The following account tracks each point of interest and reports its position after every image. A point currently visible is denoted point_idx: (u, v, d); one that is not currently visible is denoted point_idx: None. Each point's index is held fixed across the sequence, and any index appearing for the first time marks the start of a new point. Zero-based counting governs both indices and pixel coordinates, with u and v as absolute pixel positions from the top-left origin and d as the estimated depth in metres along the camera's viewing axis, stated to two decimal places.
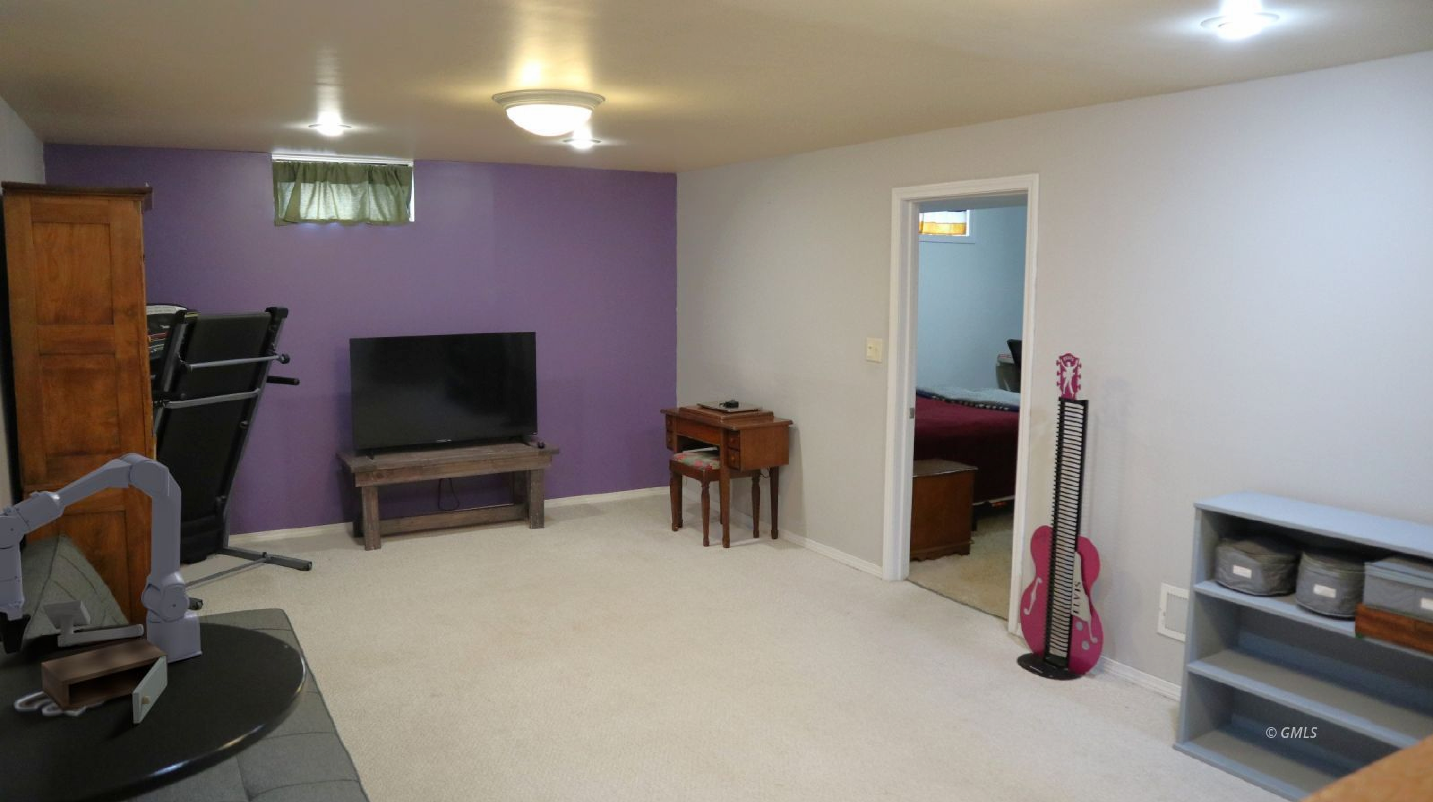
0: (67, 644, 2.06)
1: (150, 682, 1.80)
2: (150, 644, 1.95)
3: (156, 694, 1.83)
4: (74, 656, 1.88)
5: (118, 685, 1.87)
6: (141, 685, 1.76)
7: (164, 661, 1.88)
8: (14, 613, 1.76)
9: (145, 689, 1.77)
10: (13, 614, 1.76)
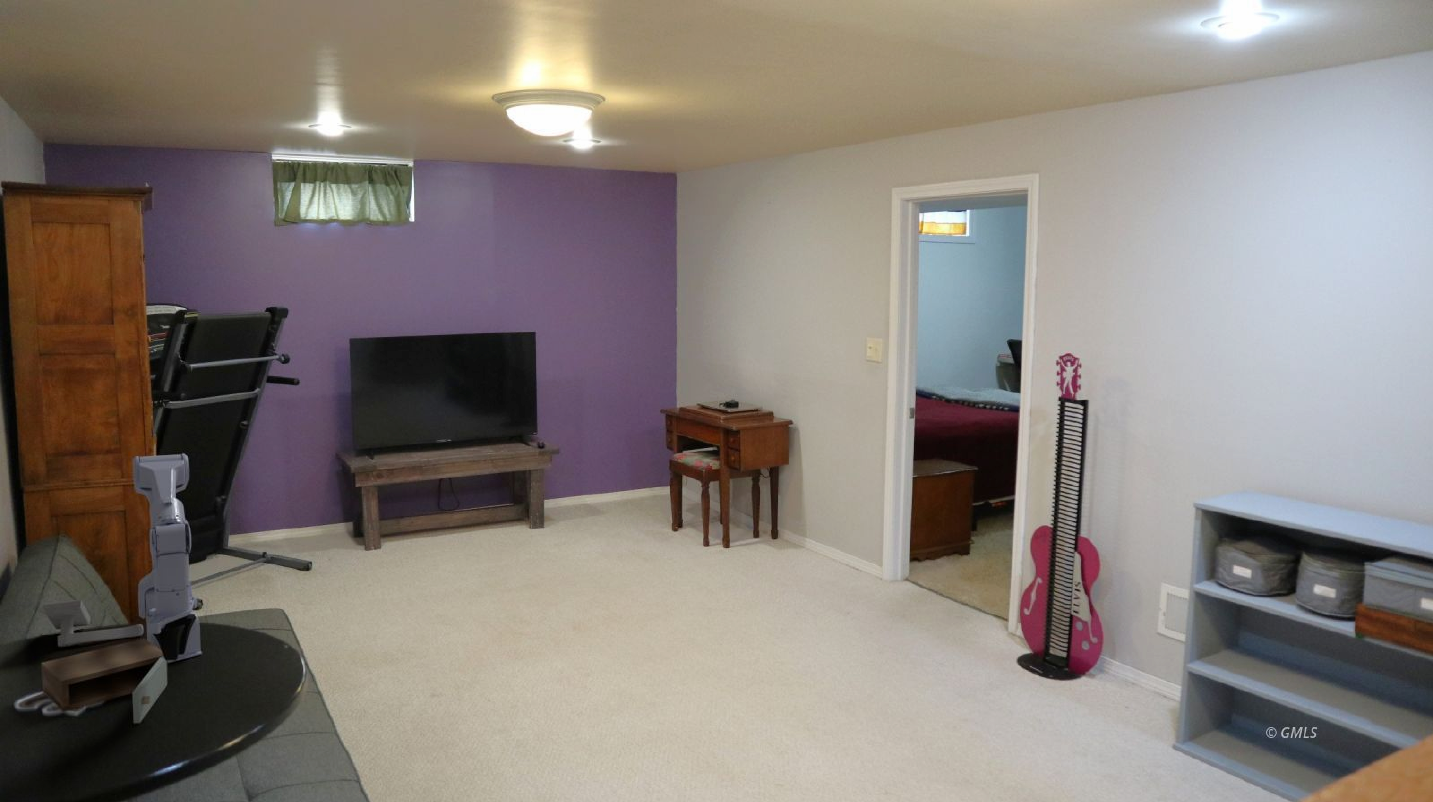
0: (67, 644, 2.06)
1: (150, 682, 1.80)
2: (150, 644, 1.95)
3: (156, 694, 1.83)
4: (74, 656, 1.88)
5: (118, 685, 1.87)
6: (141, 685, 1.76)
7: (164, 661, 1.88)
8: (151, 627, 1.73)
9: (145, 689, 1.77)
10: (150, 628, 1.73)
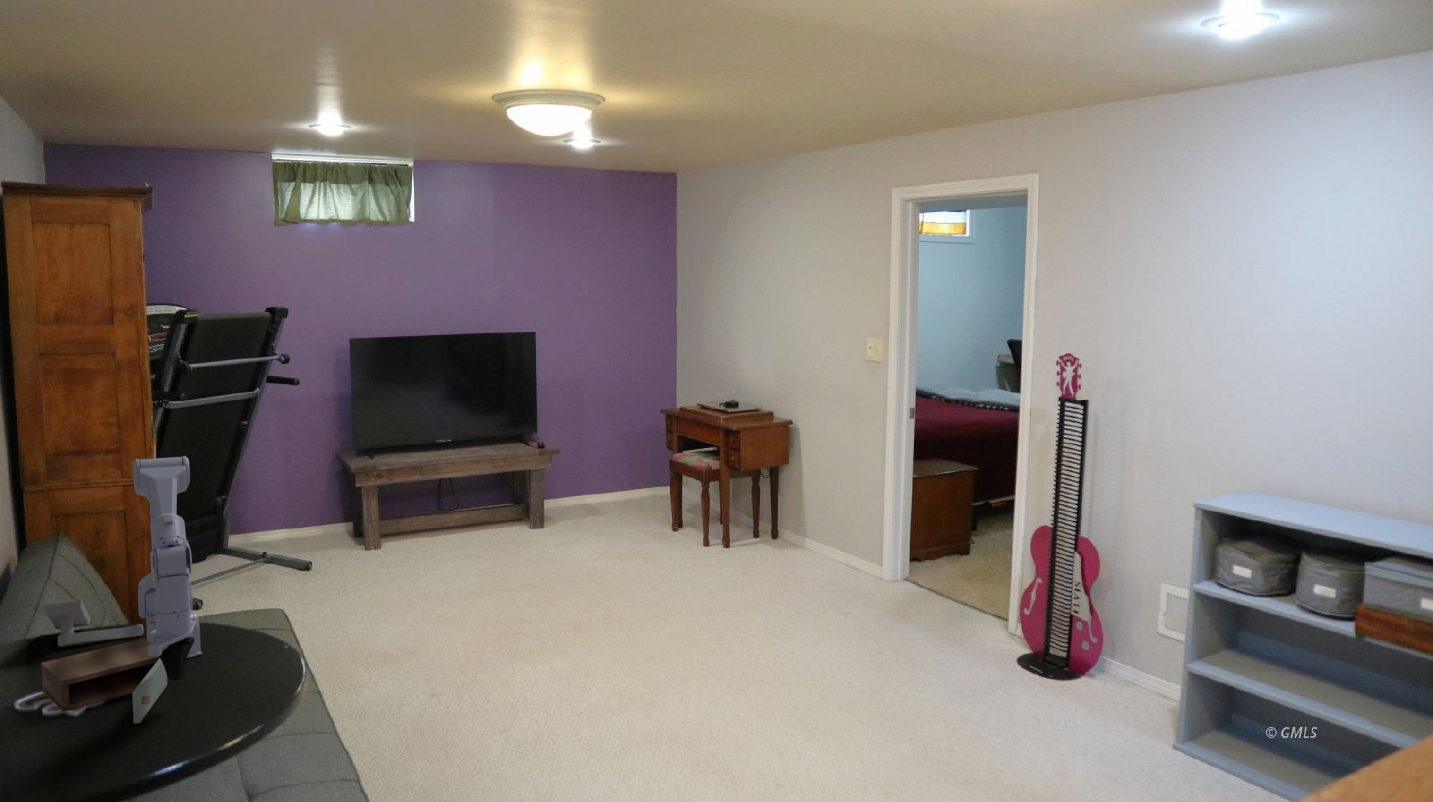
0: (67, 644, 2.06)
1: (150, 682, 1.80)
2: None
3: (156, 694, 1.83)
4: (74, 656, 1.88)
5: (118, 685, 1.87)
6: (141, 685, 1.76)
7: None
8: (152, 649, 1.74)
9: (145, 689, 1.77)
10: (151, 650, 1.74)
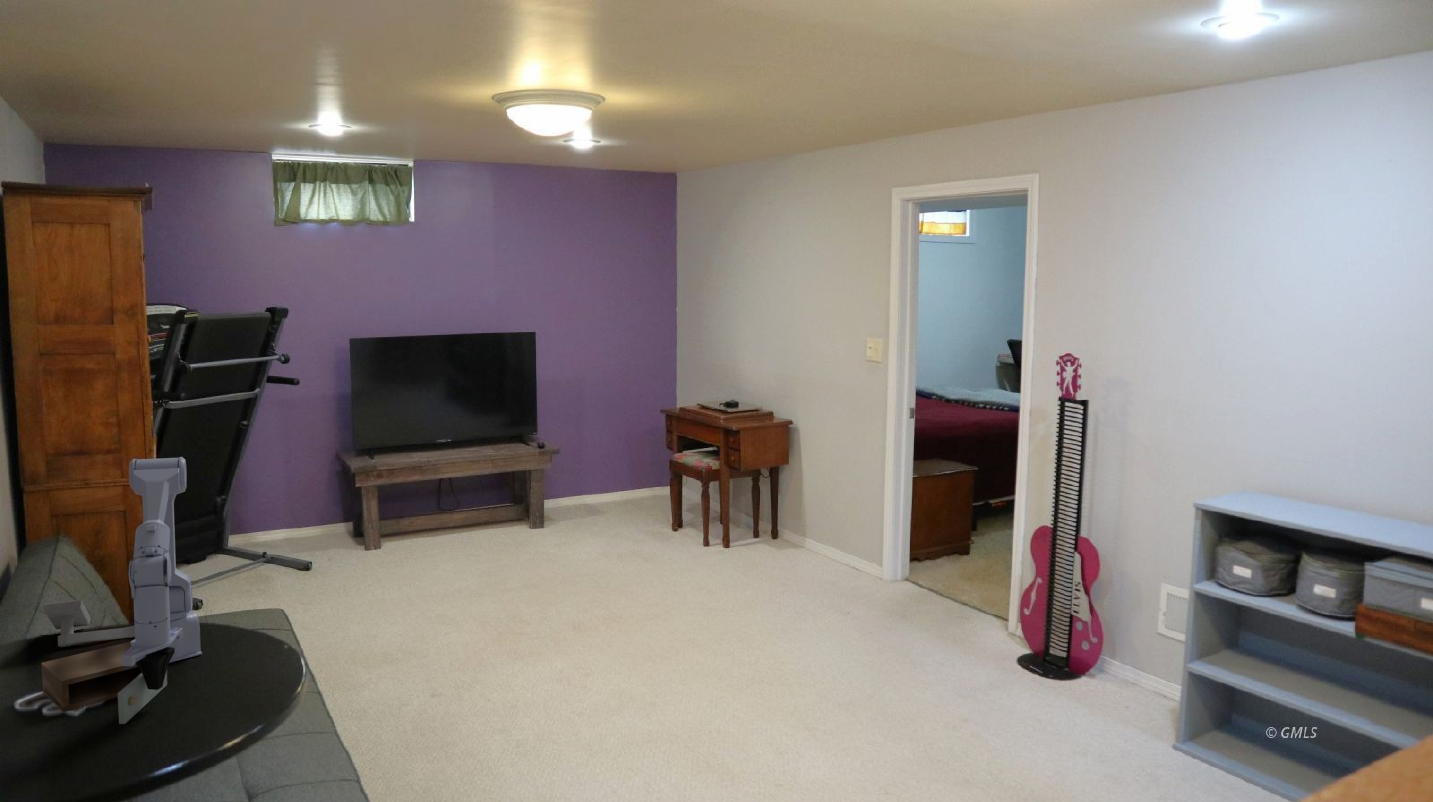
0: (67, 644, 2.06)
1: (142, 682, 1.80)
2: None
3: (150, 694, 1.83)
4: (74, 656, 1.88)
5: (118, 685, 1.87)
6: (128, 686, 1.76)
7: None
8: (125, 659, 1.73)
9: (133, 689, 1.77)
10: (124, 660, 1.73)
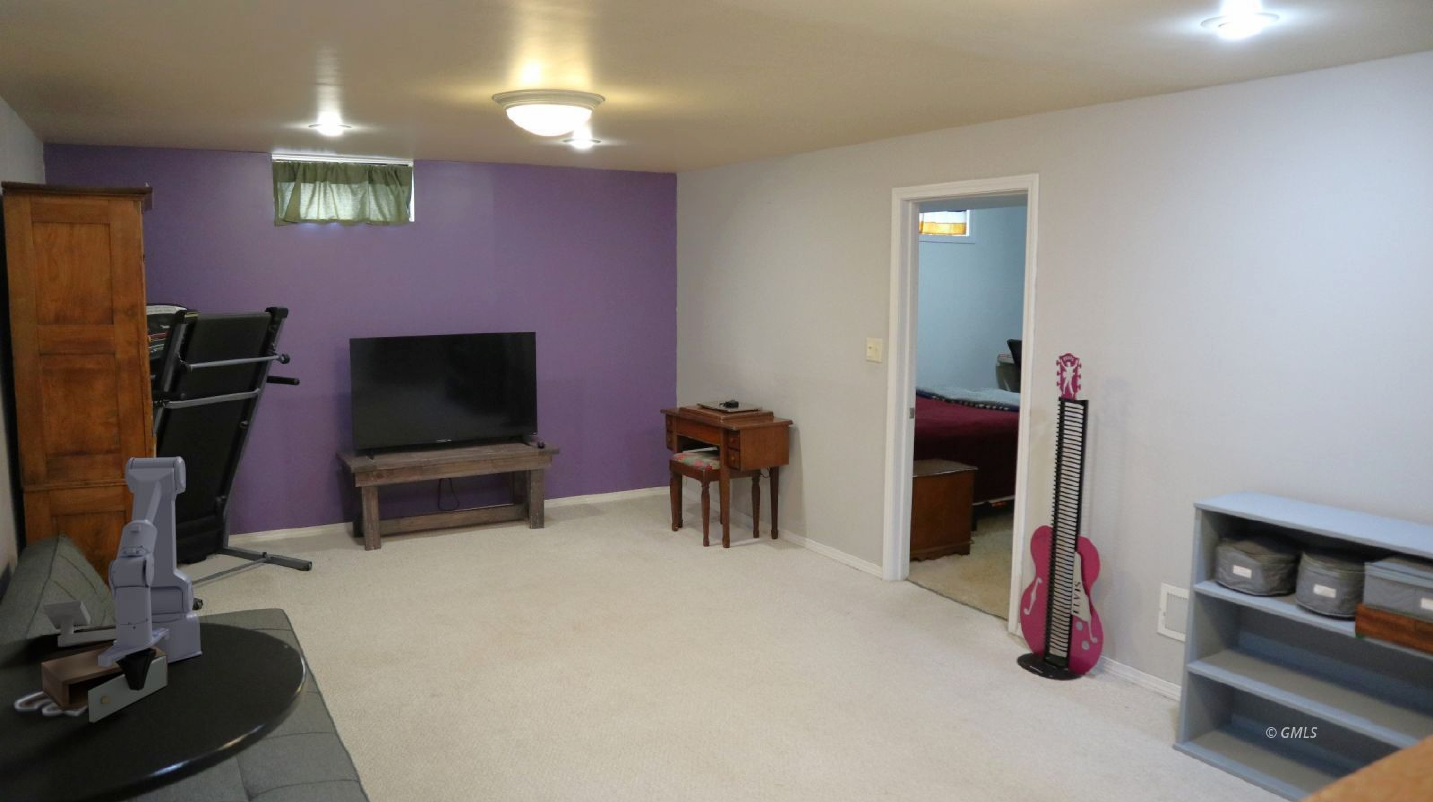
0: (67, 644, 2.06)
1: (124, 681, 1.80)
2: None
3: (138, 694, 1.83)
4: (74, 656, 1.88)
5: None
6: (104, 684, 1.76)
7: (160, 661, 1.88)
8: (101, 660, 1.73)
9: (109, 688, 1.77)
10: (101, 660, 1.73)
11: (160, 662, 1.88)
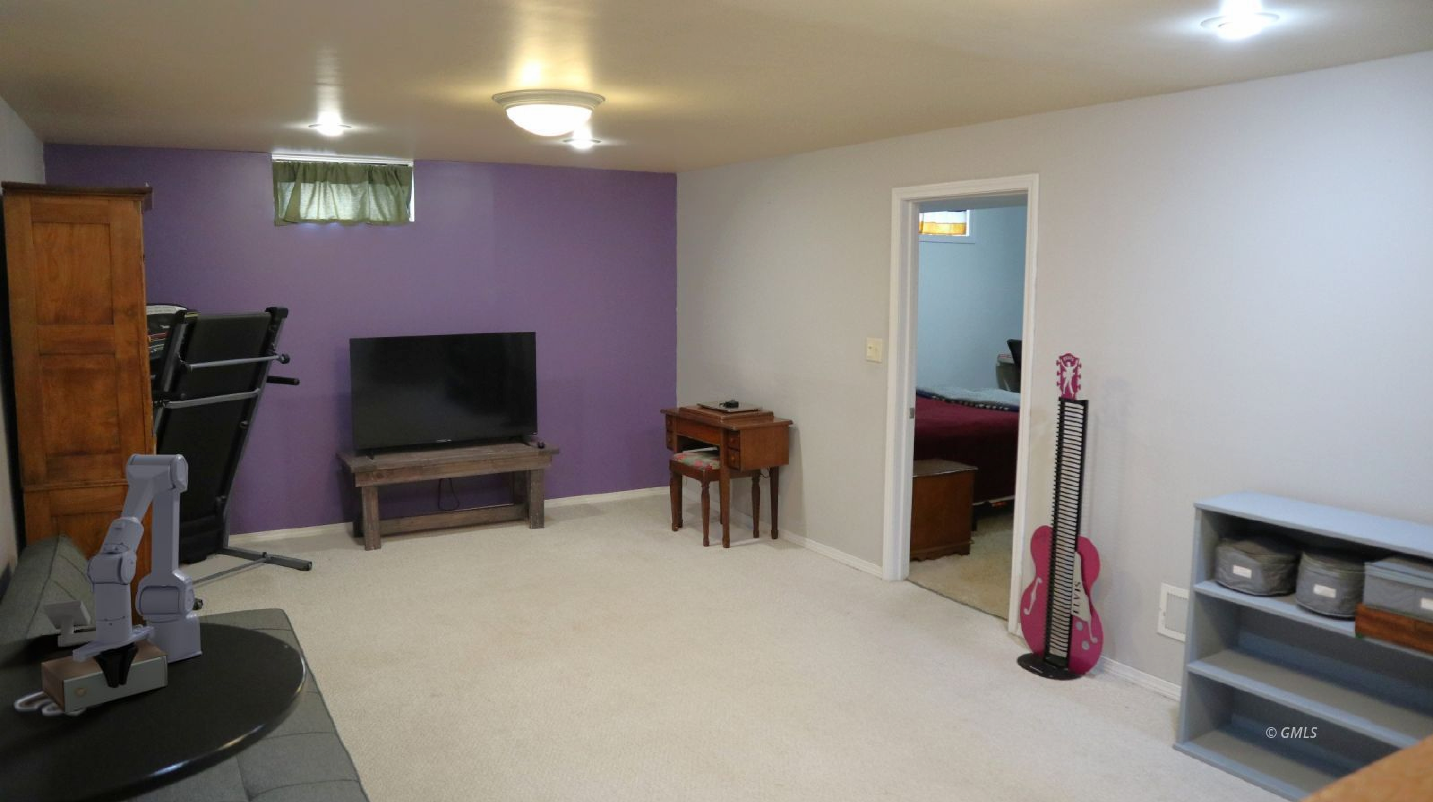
0: (67, 644, 2.06)
1: None
2: (150, 644, 1.95)
3: (126, 691, 1.84)
4: None
5: None
6: (82, 676, 1.79)
7: (157, 661, 1.88)
8: (75, 655, 1.74)
9: (88, 681, 1.79)
10: (75, 655, 1.74)
11: (157, 662, 1.88)
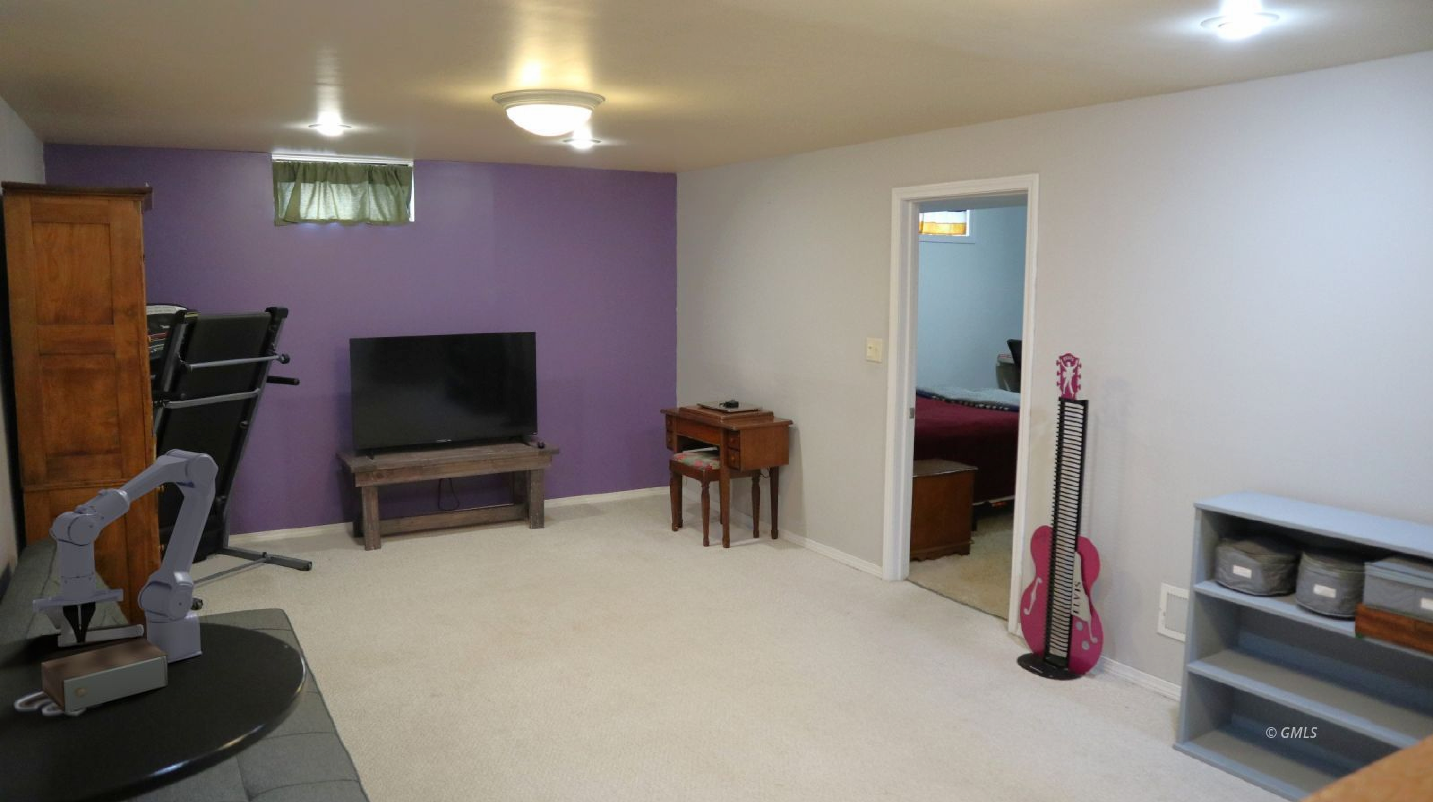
0: (67, 644, 2.06)
1: (108, 676, 1.82)
2: (150, 644, 1.95)
3: (126, 691, 1.84)
4: (74, 656, 1.88)
5: None
6: (82, 677, 1.79)
7: (157, 661, 1.88)
8: None
9: (88, 681, 1.79)
10: None
11: (157, 662, 1.88)
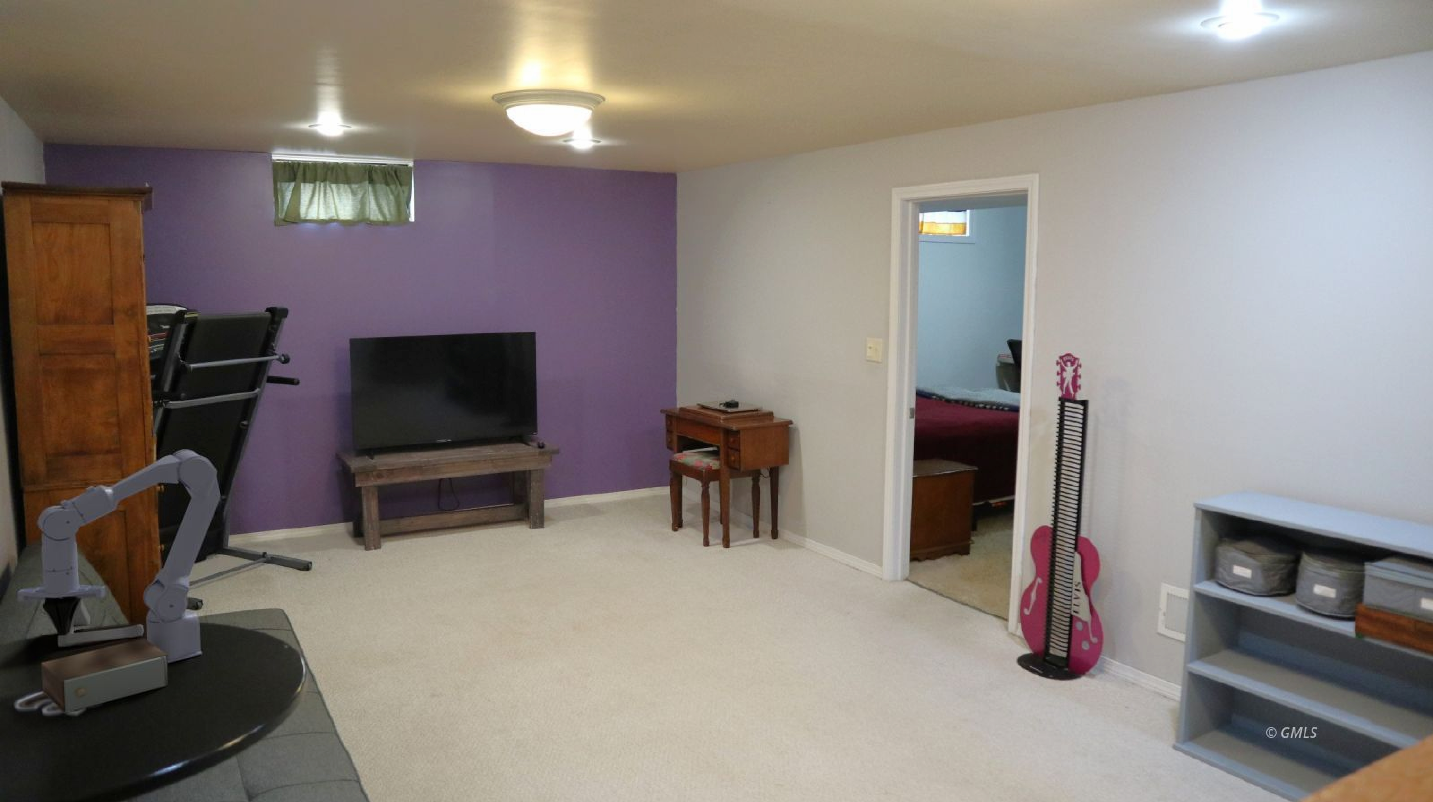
0: (67, 644, 2.06)
1: (108, 676, 1.82)
2: (150, 644, 1.95)
3: (126, 691, 1.84)
4: (74, 656, 1.88)
5: None
6: (82, 677, 1.79)
7: (157, 661, 1.88)
8: None
9: (88, 681, 1.79)
10: None
11: (157, 662, 1.88)
